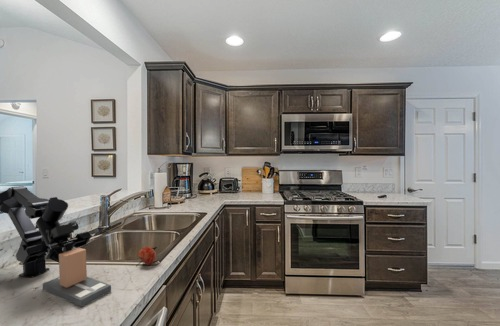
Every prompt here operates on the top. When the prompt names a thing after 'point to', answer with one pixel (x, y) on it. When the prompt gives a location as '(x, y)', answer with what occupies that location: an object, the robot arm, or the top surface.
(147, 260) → the pomegranate
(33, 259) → the robot arm
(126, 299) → the top surface
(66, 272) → the fader knob
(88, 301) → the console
